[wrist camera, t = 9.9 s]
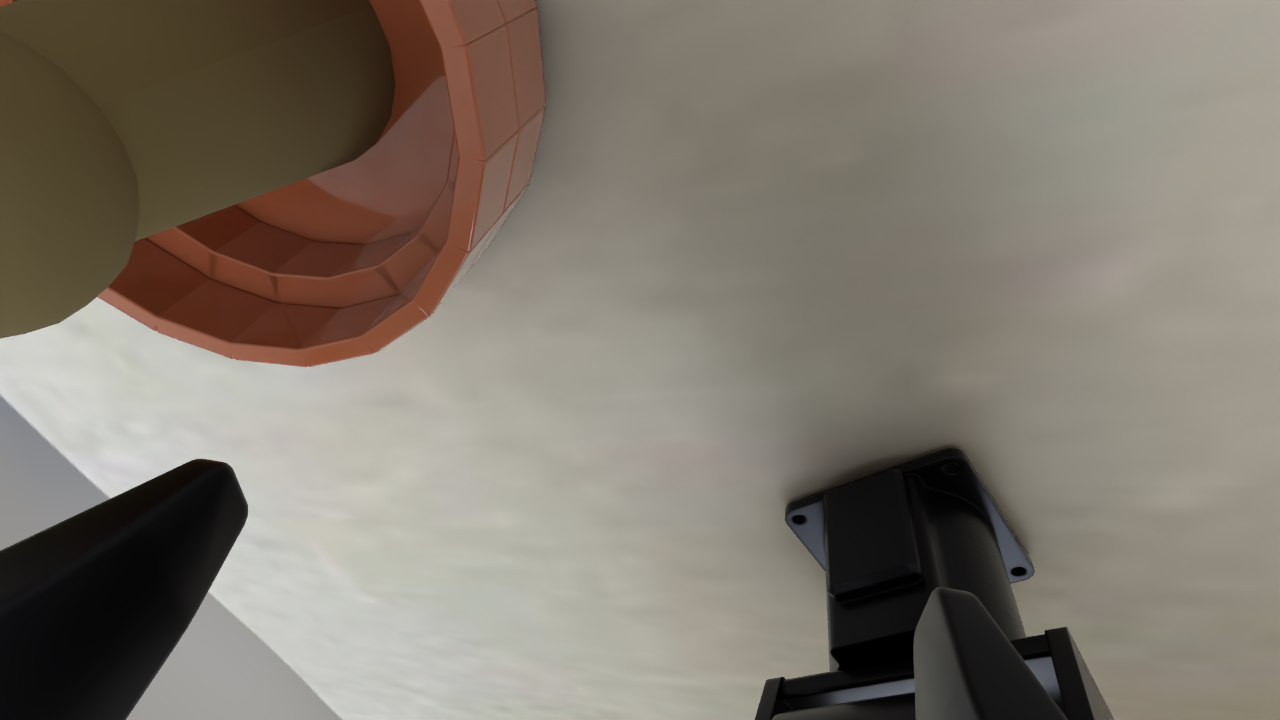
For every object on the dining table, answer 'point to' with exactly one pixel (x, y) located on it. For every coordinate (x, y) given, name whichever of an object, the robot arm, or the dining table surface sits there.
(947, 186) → the dining table surface
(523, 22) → the bowl
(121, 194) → the cork
